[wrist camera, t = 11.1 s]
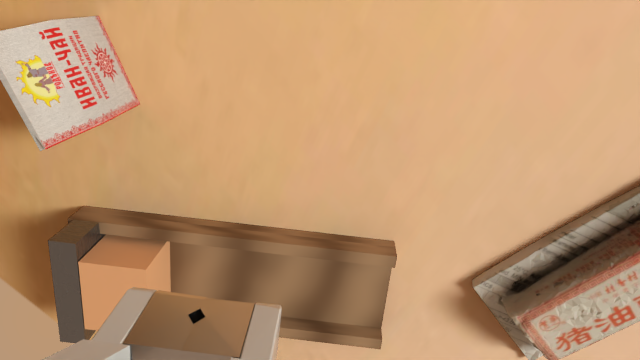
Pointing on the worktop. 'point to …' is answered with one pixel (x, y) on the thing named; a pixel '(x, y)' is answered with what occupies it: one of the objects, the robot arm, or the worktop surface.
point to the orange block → (120, 273)
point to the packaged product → (570, 282)
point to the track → (272, 270)
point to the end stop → (71, 276)
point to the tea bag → (63, 77)
